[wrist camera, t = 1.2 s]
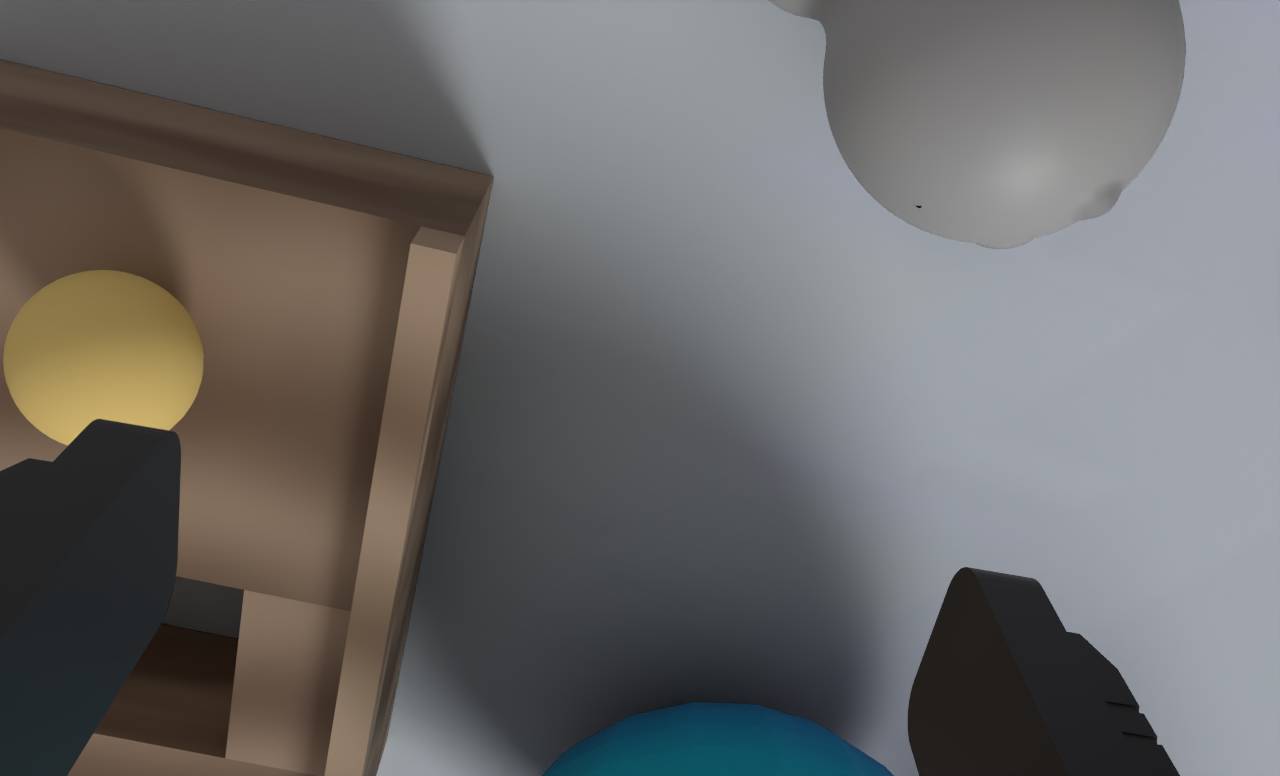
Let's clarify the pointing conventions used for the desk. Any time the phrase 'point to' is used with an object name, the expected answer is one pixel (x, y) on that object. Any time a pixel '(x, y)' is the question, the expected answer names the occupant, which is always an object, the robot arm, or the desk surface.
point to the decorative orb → (715, 746)
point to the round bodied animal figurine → (998, 106)
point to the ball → (102, 355)
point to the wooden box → (259, 400)
